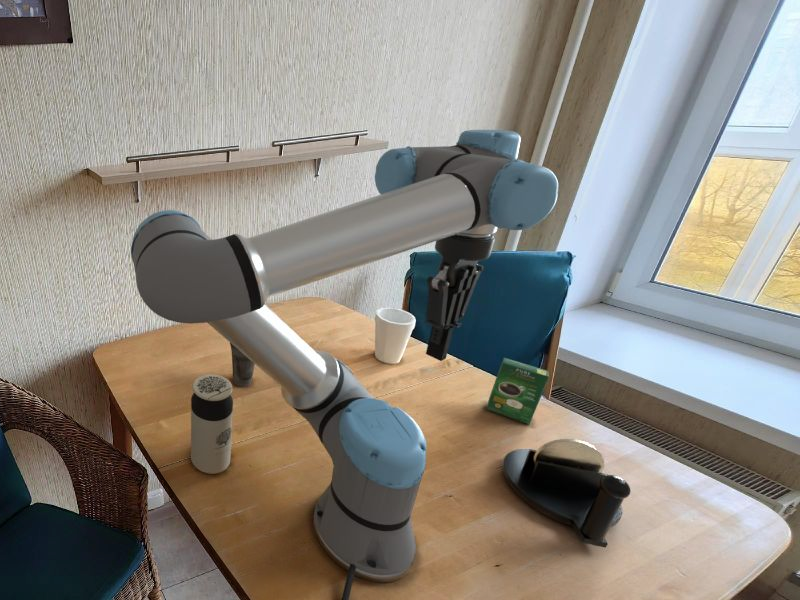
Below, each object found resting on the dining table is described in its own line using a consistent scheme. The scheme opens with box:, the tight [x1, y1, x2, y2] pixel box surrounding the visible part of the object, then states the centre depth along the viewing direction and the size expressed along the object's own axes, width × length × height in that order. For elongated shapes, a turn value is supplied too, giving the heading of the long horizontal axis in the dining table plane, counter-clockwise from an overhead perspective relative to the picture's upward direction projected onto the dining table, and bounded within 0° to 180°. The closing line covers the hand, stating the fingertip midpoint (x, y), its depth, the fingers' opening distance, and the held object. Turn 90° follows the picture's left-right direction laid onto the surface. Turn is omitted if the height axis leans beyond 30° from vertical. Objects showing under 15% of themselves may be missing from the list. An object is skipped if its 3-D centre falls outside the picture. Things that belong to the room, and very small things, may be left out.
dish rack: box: [501, 438, 632, 548], centre depth 73 cm, size 20×16×13 cm
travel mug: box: [190, 373, 234, 475], centre depth 83 cm, size 8×8×18 cm
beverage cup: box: [229, 342, 256, 388], centre depth 106 cm, size 7×7×20 cm
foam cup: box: [374, 307, 417, 365], centre depth 116 cm, size 10×9×13 cm
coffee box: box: [486, 357, 550, 425], centre depth 94 cm, size 8×3×13 cm, turn 49°
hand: (435, 356), depth 76 cm, fingers closed
